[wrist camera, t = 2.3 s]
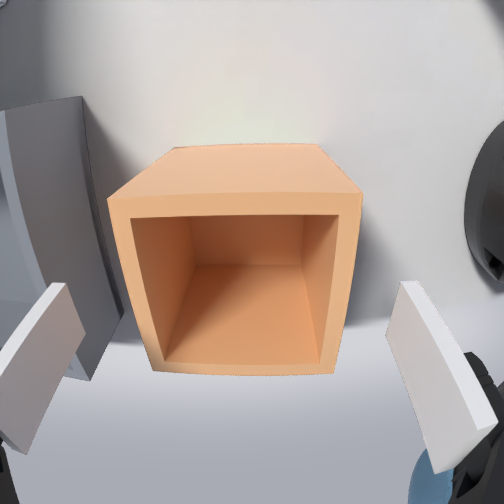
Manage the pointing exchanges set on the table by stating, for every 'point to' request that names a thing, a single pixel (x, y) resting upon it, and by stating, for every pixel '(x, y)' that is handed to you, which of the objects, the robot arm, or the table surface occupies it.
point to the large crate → (53, 225)
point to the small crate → (239, 258)
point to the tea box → (2, 2)
